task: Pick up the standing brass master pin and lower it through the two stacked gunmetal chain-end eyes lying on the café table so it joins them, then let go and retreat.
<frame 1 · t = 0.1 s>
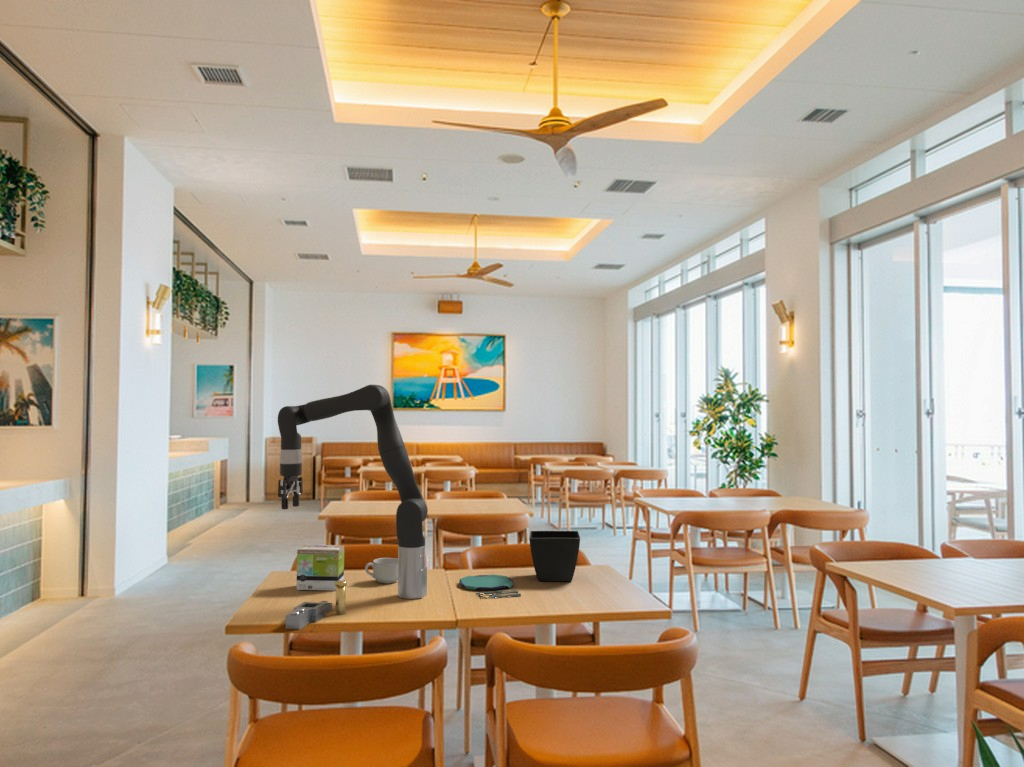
hand: (290, 507, 273), 29 cm above the table, fingers open, 8 cm apart
teacup: (383, 582, 286), on the table
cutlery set: (489, 590, 276), on the table
tea box: (320, 588, 277), on the table
master pin: (340, 613, 241), on the table
flower pot: (554, 578, 293), on the table
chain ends: (309, 618, 236), on the table
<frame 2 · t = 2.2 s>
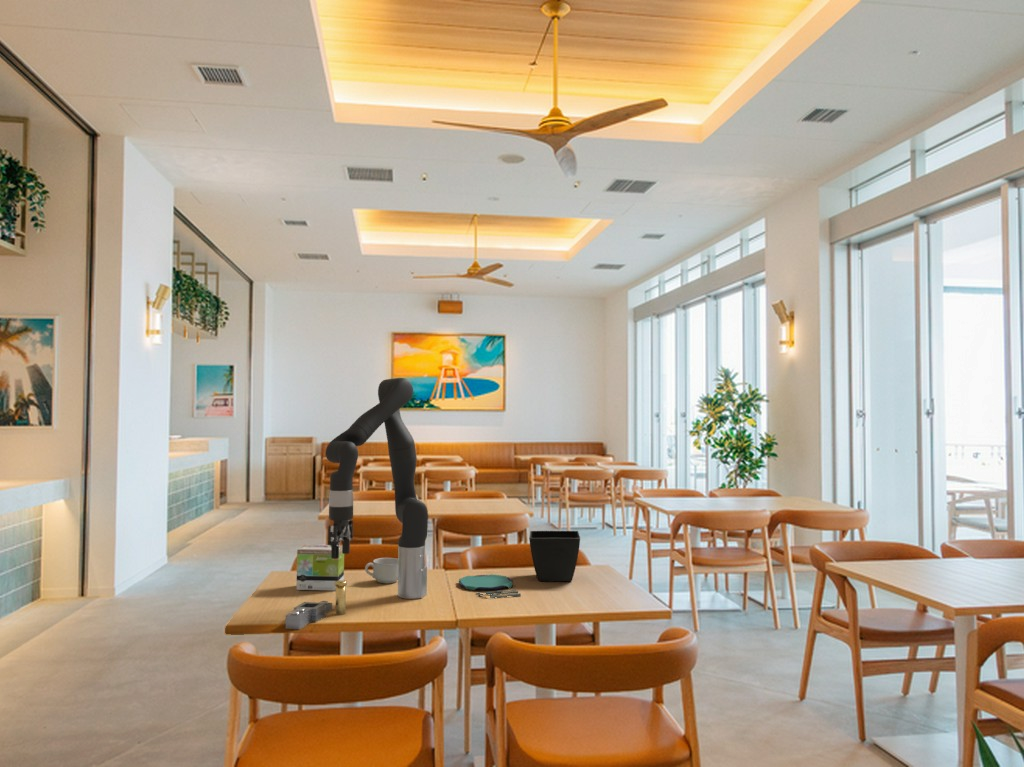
hand: (340, 556, 242), 18 cm above the table, fingers open, 8 cm apart
nothing on the table moved.
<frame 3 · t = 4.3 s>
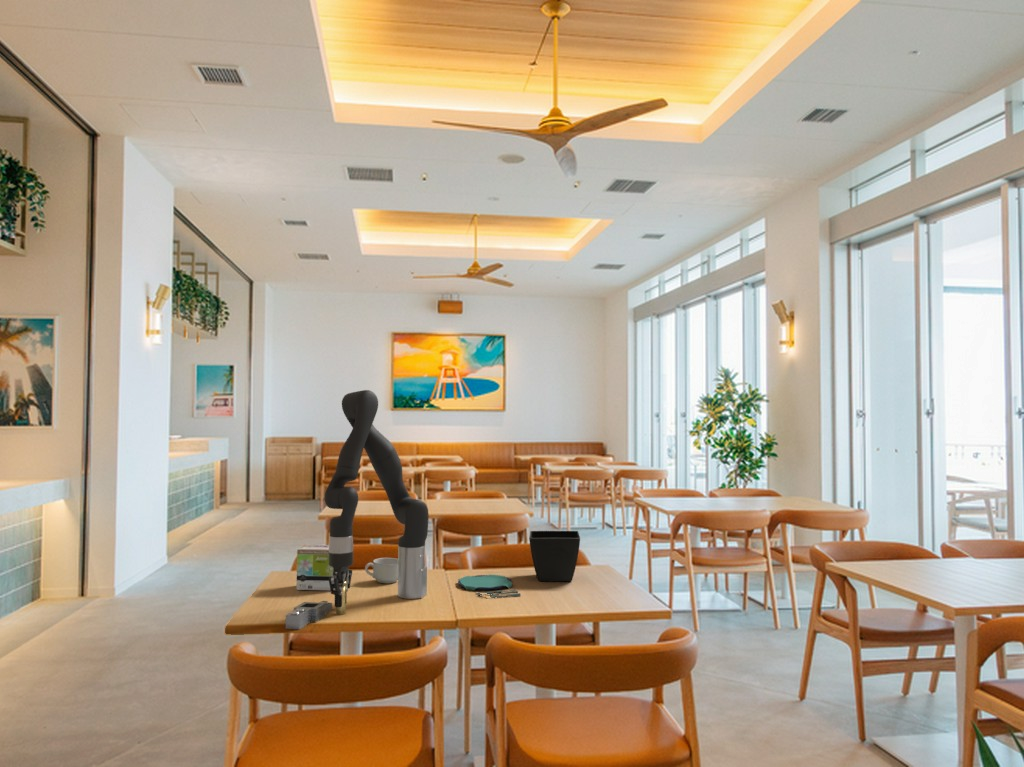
hand: (340, 605, 241), 3 cm above the table, fingers closed on master pin, 3 cm apart
master pin: (340, 613, 241), on the table, touching gripper
everything else where it was.
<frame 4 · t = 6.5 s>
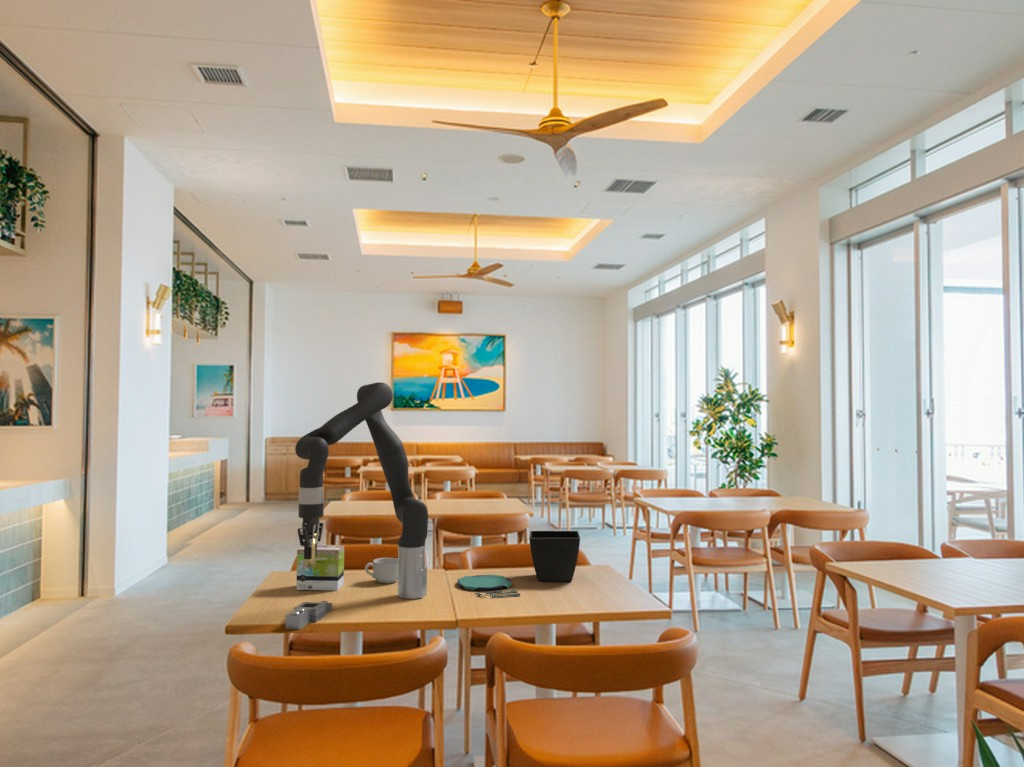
hand: (310, 557, 236), 18 cm above the table, fingers closed on master pin, 3 cm apart
master pin: (310, 566, 236), point 16 cm above the table, touching gripper
everything else where it was.
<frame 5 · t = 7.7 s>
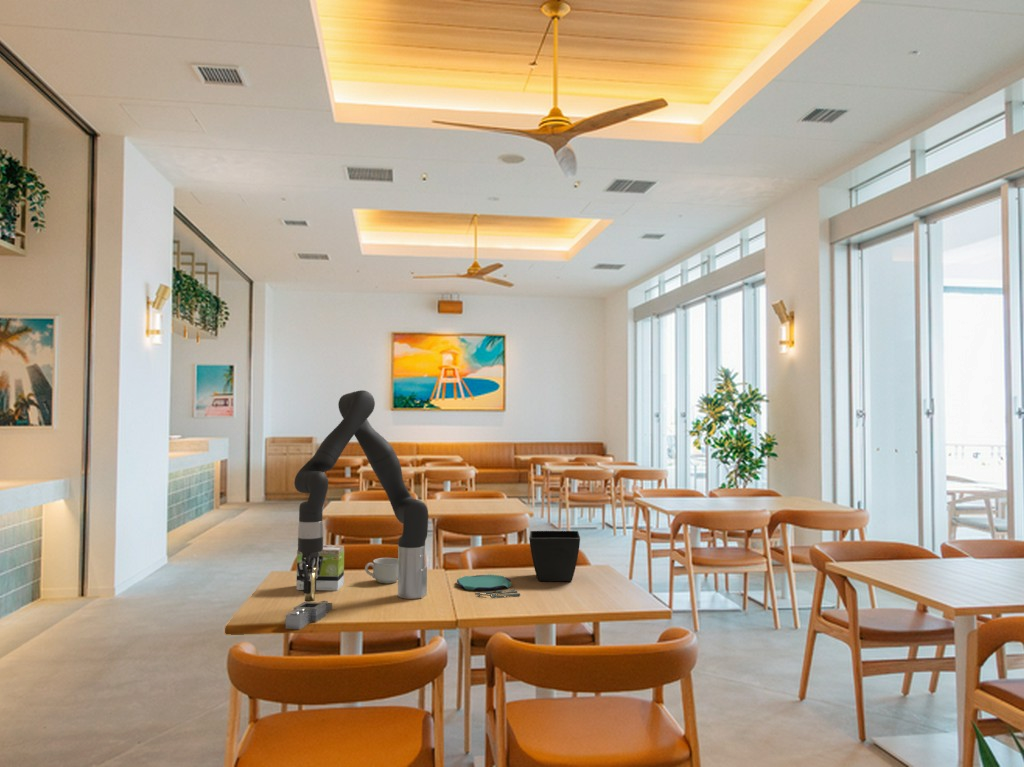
hand: (309, 591, 236), 8 cm above the table, fingers closed on master pin, 3 cm apart
master pin: (309, 600, 236), point 5 cm above the table, touching gripper
everything else where it was.
when the fingers open (5 cm above the table, at t = 8.6 s): master pin drops 2 cm, resting in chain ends.
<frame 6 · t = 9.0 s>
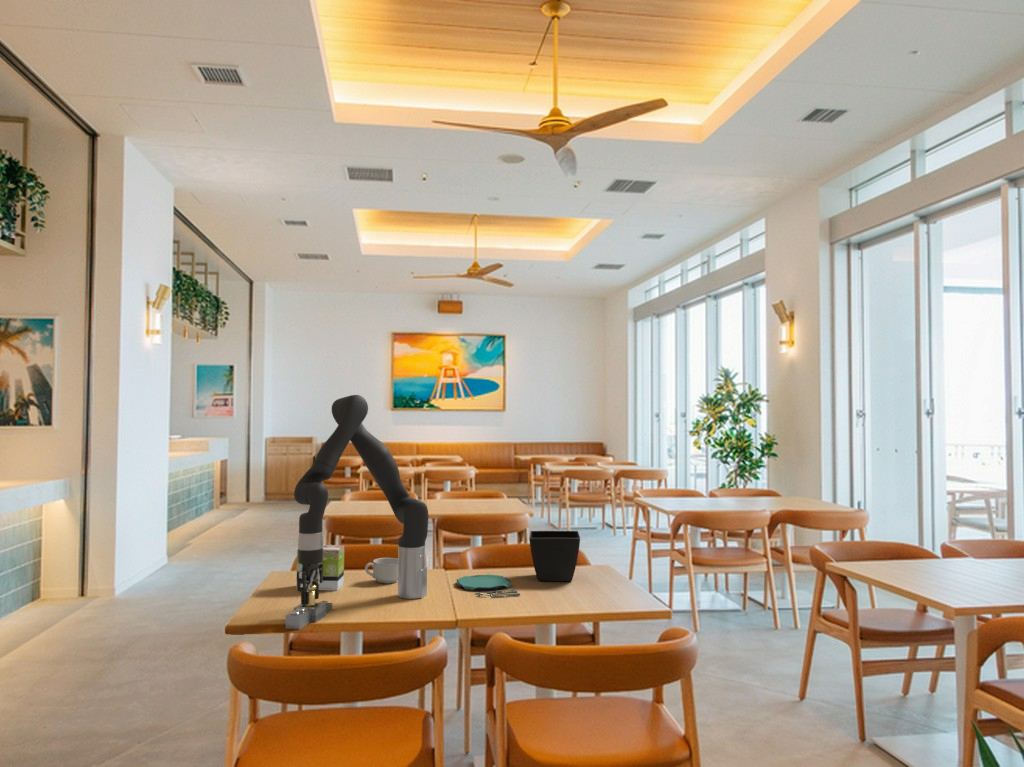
hand: (310, 601, 236), 5 cm above the table, fingers open, 6 cm apart
master pin: (309, 618, 236), resting in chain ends
everything else where it was.
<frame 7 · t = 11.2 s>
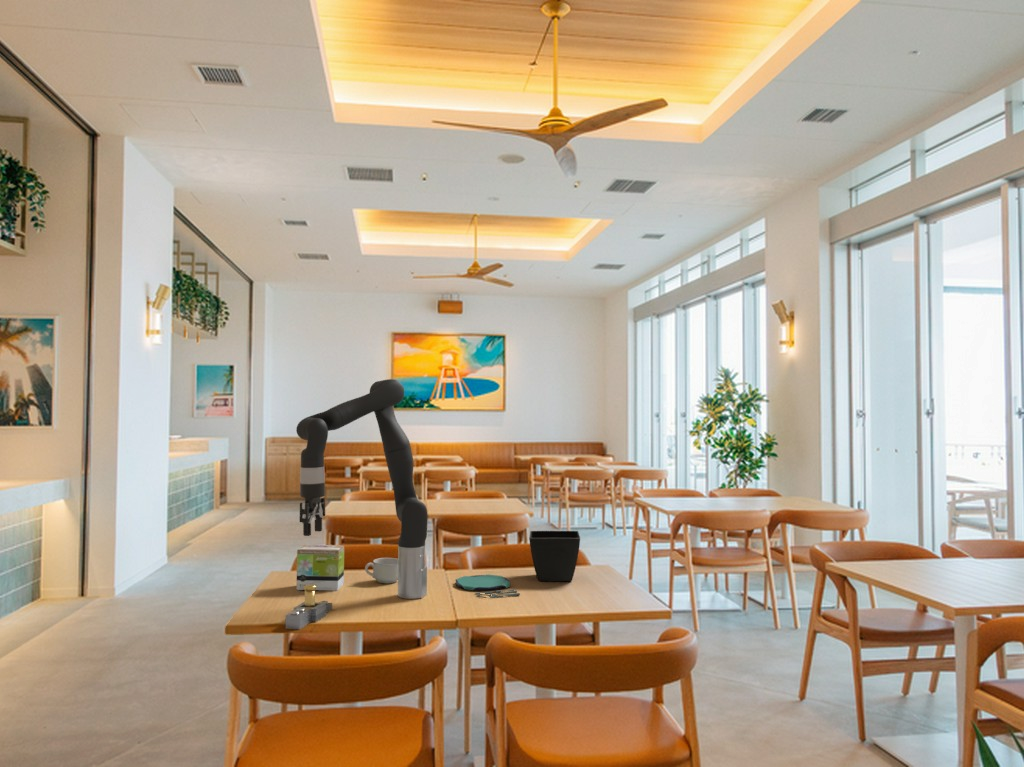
hand: (312, 533, 241), 25 cm above the table, fingers open, 8 cm apart
nothing on the table moved.
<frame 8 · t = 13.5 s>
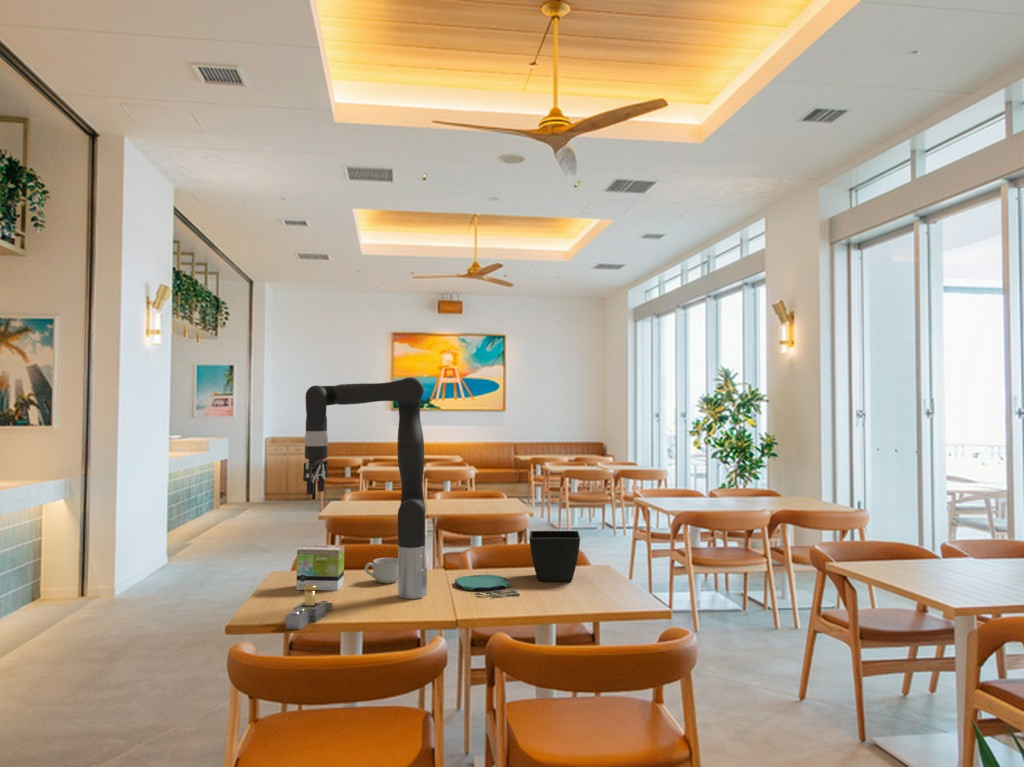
hand: (315, 492, 259), 36 cm above the table, fingers open, 8 cm apart
at the end: master pin 0.1 cm off-centre on the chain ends, point 0.0 cm above the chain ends's base; master pin tilted 0°; the gripper is holding nothing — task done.
